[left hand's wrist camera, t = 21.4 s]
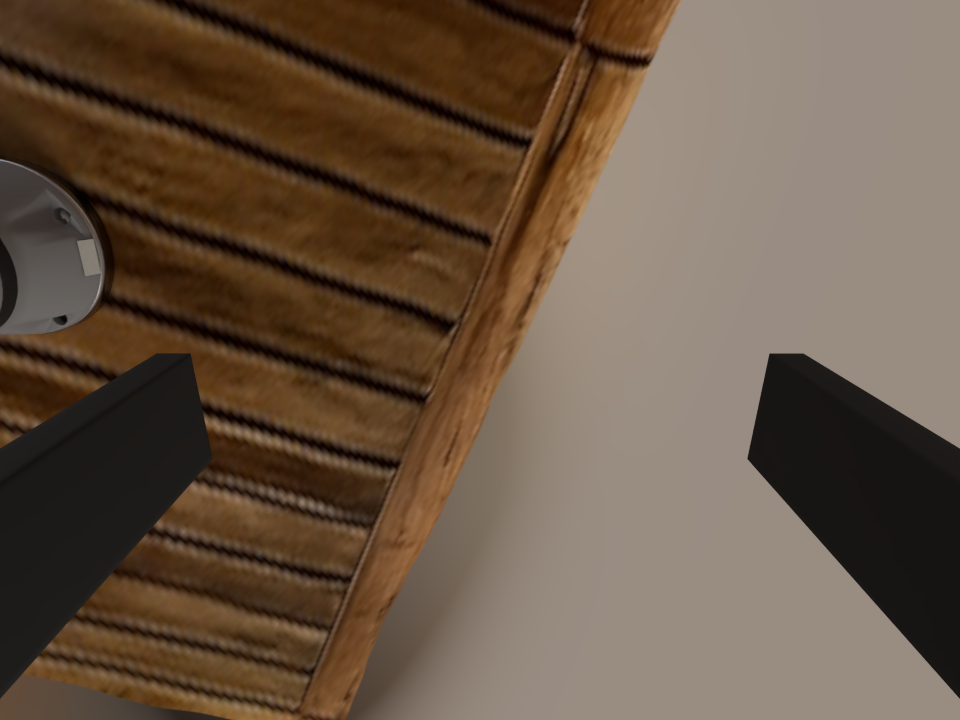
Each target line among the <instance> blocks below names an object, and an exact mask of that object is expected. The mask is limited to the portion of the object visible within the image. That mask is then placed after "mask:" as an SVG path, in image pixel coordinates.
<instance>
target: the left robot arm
mask: <svg viewBox="0 0 960 720" xmlns="http://www.w3.org/2000/svg"><path fill="white" fill-rule="evenodd" d="M113 276H114V261H113V254H112V248H111V245H110V242H109V239H108V236H107V233H106V231H105V229H104V227H103V225H102V223H101V221H100V220H99V218H98V216H97V215H96V213H95V212H94V210H93V209H92V208H91V206H90V205H89V204H88V203H87V201H86V200H85V199H84V198H83V197H82V196H81V195H80V194H79V193H78V192H77V191H76V190H75V189H74V188H73V187H71V186H70V185H69V184H68V183H66V182H65V181H64V180H63V179H61V178H59V177H58V176H56V175H55V174H53V173H51V172H50V171H48V170H46V169H44V168H42V167H39V166H37V165H34V164H31V163H29V162H25V161H21V160H17V159H10V158H0V334H46V333H53V332H57V331H61V330H63V329H66V328H69V327H71V326H74V325H76V324H78V323H81V322H83V321H85V320H87V319H88V318H89V317H91V316H92V315H93V314H95V313H96V312H97V311H98V310H99V309H100V308H101V306H102V305H103V304H104V302H105V301H106V299H107V297H108V295H109V292H110V290H111V287H112V282H113ZM211 460H212V454H211V449H210V444H209V440H208V435H207V430H206V425H205V421H204V416H203V411H202V406H201V401H200V397H199V392H198V387H197V382H196V378H195V373H194V368H193V363H192V359H191V354H155V355H154V356H152V357H150V358H149V359H147V360H145V361H144V362H142V363H140V364H139V365H137V366H135V367H134V368H132V369H130V370H129V371H127V372H126V373H124V374H122V375H121V376H119V377H117V378H116V379H114V380H112V381H111V382H109V383H107V384H106V385H104V386H102V387H101V388H99V389H98V390H96V391H94V392H93V393H91V394H89V395H88V396H86V397H84V398H83V399H81V400H79V401H78V402H76V403H75V404H73V405H71V406H70V407H68V408H66V409H65V410H63V411H61V412H60V413H58V414H56V415H55V416H53V417H51V418H50V419H48V420H47V421H45V422H43V423H42V424H40V425H38V426H37V427H35V428H33V429H32V430H30V431H28V432H27V433H25V434H23V435H22V436H20V437H19V438H17V439H15V440H14V441H12V442H10V443H9V444H7V445H5V446H4V447H2V448H0V698H1V697H2V696H3V695H4V694H5V693H6V692H7V690H8V689H9V688H10V687H11V686H12V685H13V684H14V683H15V681H16V680H17V679H18V678H19V677H20V676H21V675H22V673H23V672H24V671H25V670H26V669H27V668H28V667H29V666H30V664H31V663H32V662H33V661H34V660H35V659H36V658H37V657H38V655H39V654H40V653H41V652H42V651H43V650H44V649H45V648H46V646H47V645H48V644H49V643H50V642H51V641H52V640H53V638H54V637H55V636H56V635H57V634H58V633H59V632H60V631H61V629H62V628H63V627H64V626H65V625H66V624H67V623H68V622H69V620H70V619H71V618H72V617H73V616H74V615H75V614H76V613H77V611H78V610H79V609H80V608H81V607H82V606H83V605H84V604H85V602H86V601H87V600H88V599H89V598H90V597H91V596H92V594H93V593H94V592H95V591H96V590H97V589H98V588H99V587H100V585H101V584H102V583H103V582H104V581H105V580H106V579H107V578H108V576H109V575H110V574H111V573H112V572H113V571H114V570H115V569H116V567H117V566H118V565H119V564H120V563H121V562H122V561H123V559H124V558H125V557H126V556H127V555H128V554H129V553H130V552H131V550H132V549H133V548H134V547H135V546H136V545H137V544H138V543H139V541H140V540H141V539H142V538H143V537H144V536H145V535H146V534H147V532H148V531H149V530H150V529H151V528H152V527H153V526H154V524H155V523H156V522H157V521H158V520H159V519H160V518H161V517H162V515H163V514H164V513H165V512H166V511H167V510H168V509H169V508H170V506H171V505H172V504H173V503H174V502H175V501H176V500H177V499H178V497H179V496H180V495H181V494H182V493H183V492H184V491H185V490H186V488H187V487H188V486H189V485H190V484H191V483H192V482H193V480H194V479H195V478H196V477H197V476H198V475H199V474H200V473H201V471H202V470H203V469H204V468H205V467H206V466H207V465H208V464H209V462H210V461H211ZM748 460H749V461H750V462H751V463H752V465H753V466H754V467H755V468H756V469H757V470H758V471H759V473H760V474H761V475H762V476H763V477H764V478H765V479H766V480H767V482H768V483H769V484H770V485H771V486H772V487H773V488H774V490H775V491H776V492H777V493H778V494H779V495H780V496H781V497H782V498H783V500H784V501H785V502H786V503H787V504H788V505H789V506H790V508H791V509H792V510H793V511H794V512H795V513H796V514H797V515H798V517H799V518H800V519H801V520H802V521H803V522H804V523H805V524H806V526H807V527H808V528H809V529H810V530H811V531H812V532H813V534H814V535H815V536H816V537H817V538H818V539H819V540H820V541H821V543H822V544H823V545H824V546H825V547H826V548H827V549H828V550H829V552H830V553H831V554H832V555H833V556H834V557H835V558H836V559H837V561H838V562H839V563H840V564H841V565H842V566H843V567H844V569H845V570H846V571H847V572H848V573H849V574H850V575H851V576H852V578H853V579H854V580H855V581H856V582H857V583H858V584H859V585H860V587H861V588H862V589H863V590H864V591H865V592H866V593H867V594H868V596H869V597H870V598H871V599H872V600H873V601H874V602H875V604H876V605H877V606H878V607H879V608H880V609H881V610H882V611H883V613H884V614H885V615H886V616H887V617H888V618H889V619H890V620H891V622H892V623H893V624H894V625H895V626H896V627H897V628H898V629H899V631H900V632H901V633H902V634H903V635H904V636H905V637H906V638H907V640H908V641H909V642H910V643H911V644H912V645H913V646H914V648H915V649H916V650H917V651H918V652H919V653H920V654H921V655H922V657H923V658H924V659H925V660H926V661H927V662H928V663H929V664H930V666H931V667H932V668H933V669H934V670H935V671H936V672H937V673H938V675H939V676H940V677H941V678H942V679H943V680H944V681H945V682H946V684H947V685H948V686H949V687H950V688H951V689H952V690H953V691H954V693H955V694H956V695H957V696H958V697H959V698H960V448H958V447H956V446H955V445H953V444H951V443H950V442H948V441H946V440H945V439H943V438H941V437H940V436H938V435H936V434H935V433H933V432H932V431H930V430H928V429H927V428H925V427H923V426H922V425H920V424H918V423H917V422H915V421H913V420H912V419H910V418H909V417H907V416H905V415H904V414H902V413H900V412H899V411H897V410H895V409H894V408H892V407H890V406H889V405H887V404H885V403H884V402H882V401H881V400H879V399H877V398H875V397H874V396H872V395H871V394H869V393H867V392H866V391H864V390H862V389H861V388H859V387H857V386H856V385H854V384H853V383H851V382H849V381H848V380H846V379H844V378H843V377H841V376H839V375H838V374H836V373H834V372H833V371H831V370H830V369H828V368H826V367H824V366H823V365H821V364H820V363H818V362H816V361H815V360H813V359H811V358H810V357H808V356H806V355H805V354H769V359H768V364H767V368H766V373H765V378H764V382H763V387H762V392H761V397H760V401H759V406H758V411H757V416H756V421H755V425H754V430H753V435H752V440H751V444H750V449H749V454H748Z"/></svg>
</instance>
